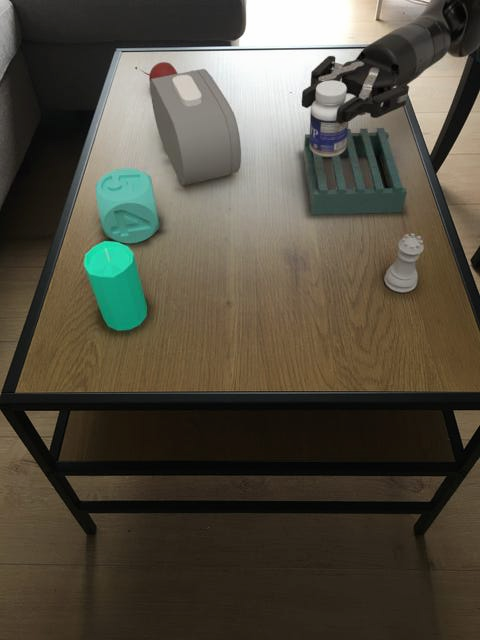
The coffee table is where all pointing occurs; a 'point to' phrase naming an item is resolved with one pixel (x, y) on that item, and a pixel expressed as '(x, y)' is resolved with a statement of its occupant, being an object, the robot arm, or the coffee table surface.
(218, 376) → the coffee table surface
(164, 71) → the fruit
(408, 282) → the rook chess piece
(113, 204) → the decorative dice
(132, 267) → the candle
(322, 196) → the rack
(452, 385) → the coffee table surface
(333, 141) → the pill bottle
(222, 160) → the alarm clock
